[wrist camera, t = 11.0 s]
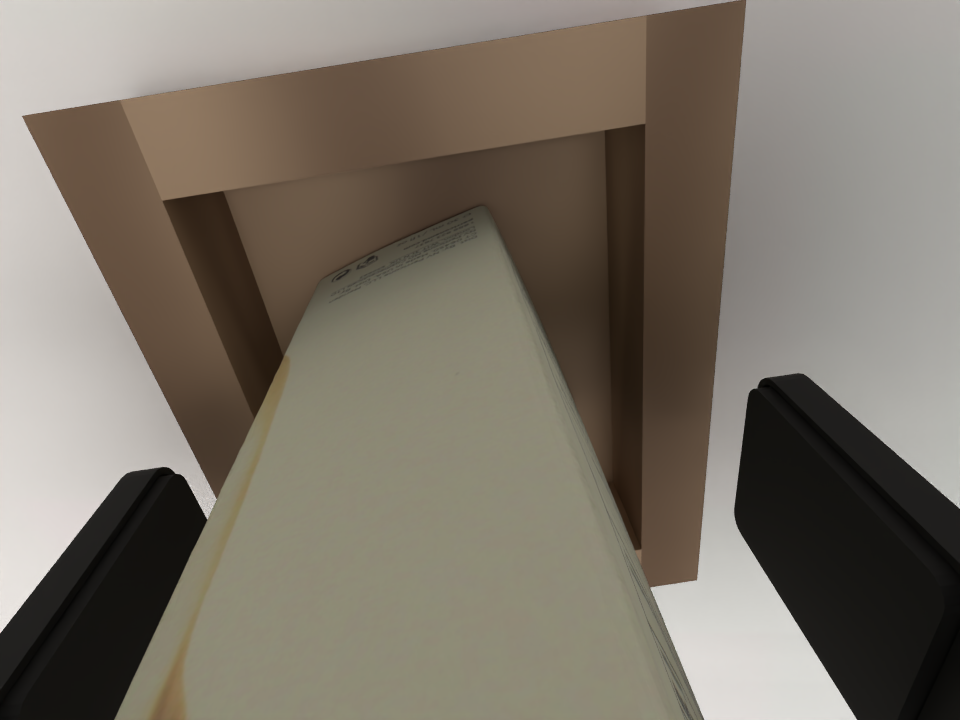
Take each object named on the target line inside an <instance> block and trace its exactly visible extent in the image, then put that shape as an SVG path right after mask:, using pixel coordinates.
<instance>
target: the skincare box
mask: <svg viewBox="0 0 960 720" xmlns="http://www.w3.org/2000/svg"><path fill="white" fill-rule="evenodd" d="M114 720H704V718H703V716H702V713H701V711H700V708H699V706H698V704H697V701H696V699H695V696H694V694H693V691H692V689H691V686H690V684H689V682H688V679H687V677H686V674H685V672H684V669H683V667H682V664H681V662H680V660H679V657H678V655H677V652H676V650H675V647H674V645H673V642H672V640H671V638H670V635H669V633H668V630H667V628H666V625H665V623H664V621H663V618H662V616H661V613H660V611H659V608H658V606H657V603H656V601H655V599H654V596H653V594H652V591H651V589H650V586H649V584H648V581H647V579H646V576H645V574H644V572H643V569H642V567H641V564H640V562H639V559H638V557H637V554H636V552H635V549H634V547H633V545H632V542H631V540H630V537H629V535H628V532H627V530H626V527H625V525H624V522H623V520H622V517H621V515H620V513H619V510H618V508H617V505H616V503H615V500H614V498H613V495H612V493H611V490H610V488H609V485H608V483H607V480H606V478H605V476H604V473H603V471H602V468H601V466H600V463H599V461H598V458H597V456H596V453H595V451H594V448H593V446H592V443H591V441H590V439H589V436H588V434H587V431H586V429H585V426H584V424H583V422H582V419H581V417H580V414H579V412H578V410H577V407H576V405H575V402H574V400H573V398H572V395H571V393H570V390H569V388H568V385H567V383H566V380H565V378H564V375H563V373H562V370H561V368H560V365H559V363H558V360H557V358H556V356H555V353H554V351H553V349H552V346H551V344H550V341H549V339H548V337H547V334H546V332H545V329H544V327H543V325H542V323H541V320H540V318H539V316H538V314H537V311H536V309H535V307H534V305H533V302H532V300H531V298H530V296H529V293H528V291H527V289H526V287H525V285H524V282H523V280H522V278H521V276H520V274H519V272H518V269H517V267H516V265H515V263H514V261H513V258H512V256H511V254H510V252H509V250H508V248H507V246H506V244H505V242H504V240H503V238H502V236H501V234H500V232H499V230H498V227H497V225H496V223H495V221H494V219H493V217H492V215H491V213H490V211H489V210H488V209H487V207H485V206H479V207H476V208H473V209H471V210H469V211H466V212H464V213H462V214H459V215H457V216H455V217H452V218H450V219H448V220H445V221H443V222H441V223H438V224H436V225H434V226H431V227H429V228H427V229H425V230H423V231H420V232H418V233H416V234H413V235H411V236H409V237H407V238H405V239H402V240H400V241H398V242H395V243H393V244H391V245H389V246H387V247H385V248H382V249H380V250H378V251H376V252H374V253H372V254H370V255H368V256H366V257H364V258H362V259H360V260H358V261H356V262H354V263H352V264H350V265H348V266H346V267H344V268H342V269H340V270H339V271H337V272H335V273H333V274H331V275H329V276H327V277H325V278H324V279H322V280H321V281H320V282H319V283H318V285H317V287H316V290H315V292H314V294H313V296H312V298H311V300H310V302H309V304H308V306H307V308H306V310H305V313H304V315H303V317H302V319H301V321H300V323H299V325H298V327H297V329H296V331H295V334H294V336H293V338H292V340H291V342H290V344H289V346H288V349H287V351H286V353H285V355H284V358H283V360H282V362H281V365H280V367H279V369H278V371H277V373H276V374H275V377H274V379H273V382H272V384H271V386H270V388H269V390H268V392H267V394H266V397H265V399H264V401H263V403H262V405H261V407H260V409H259V411H258V413H257V415H256V418H255V420H254V422H253V424H252V426H251V428H250V430H249V432H248V435H247V437H246V439H245V441H244V444H243V445H242V447H241V449H240V451H239V453H238V455H237V458H236V460H235V462H234V464H233V466H232V468H231V470H230V472H229V474H228V476H227V478H226V481H225V483H224V485H223V487H222V489H221V491H220V494H219V496H218V498H217V500H216V503H215V505H214V507H213V509H212V511H211V513H210V516H209V518H208V520H207V522H206V524H205V526H204V528H203V531H202V533H201V535H200V537H199V539H198V541H197V543H196V545H195V547H194V549H193V551H192V553H191V555H190V557H189V560H188V562H187V564H186V566H185V568H184V571H183V573H182V575H181V577H180V579H179V581H178V584H177V586H176V588H175V590H174V592H173V594H172V597H171V599H170V601H169V603H168V605H167V607H166V610H165V612H164V614H163V616H162V618H161V620H160V622H159V625H158V627H157V629H156V631H155V633H154V635H153V637H152V640H151V642H150V644H149V646H148V648H147V650H146V652H145V655H144V657H143V659H142V661H141V663H140V665H139V667H138V670H137V672H136V674H135V676H134V678H133V680H132V682H131V685H130V687H129V689H128V691H127V693H126V695H125V698H124V700H123V702H122V704H121V706H120V709H119V711H118V713H117V715H116V717H115V719H114Z"/></svg>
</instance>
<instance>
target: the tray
mask: <svg viewBox="0 0 960 720" xmlns="http://www.w3.org/2000/svg"><path fill="white" fill-rule="evenodd" d="M745 8H746V0H739V1H733V2H727V3H721V4H714V5H708V6H702V7H696V8H690V9H683V10H677V11H671V12H665V13H659V14H652V15H646V16H640V17H634V18H627V19H621V20H615V21H609V22H603V23H596V24H590V25H584V26H578V27H572V28H565V29H559V30H553V31H547V32H540V33H534V34H528V35H522V36H516V37H509V38H503V39H497V40H491V41H485V42H478V43H472V44H466V45H460V46H454V47H447V48H441V49H435V50H429V51H422V52H416V53H410V54H404V55H398V56H391V57H385V58H379V59H373V60H367V61H360V62H354V63H348V64H342V65H335V66H329V67H323V68H317V69H311V70H304V71H298V72H292V73H286V74H280V75H273V76H267V77H261V78H255V79H249V80H242V81H236V82H230V83H224V84H217V85H211V86H205V87H199V88H193V89H186V90H180V91H174V92H168V93H162V94H155V95H149V96H143V97H137V98H130V99H124V100H118V101H112V102H106V103H99V104H93V105H87V106H81V107H75V108H68V109H62V110H56V111H50V112H43V113H37V114H31V115H25V116H22V117H23V119H24V121H25V123H26V125H27V127H28V129H29V131H30V133H31V135H32V137H33V139H34V141H35V143H36V145H37V147H38V149H39V150H40V152H41V154H42V156H43V158H44V160H45V162H46V164H47V166H48V168H49V170H50V172H51V174H52V176H53V178H54V180H55V182H56V184H57V186H58V188H59V190H60V192H61V194H62V196H63V198H64V200H65V202H66V204H67V206H68V207H69V209H70V211H71V213H72V215H73V217H74V219H75V221H76V223H77V225H78V227H79V229H80V231H81V233H82V235H83V237H84V239H85V241H86V243H87V245H88V247H89V249H90V251H91V253H92V255H93V257H94V259H95V261H96V263H97V265H98V266H99V268H100V270H101V272H102V274H103V276H104V278H105V280H106V282H107V284H108V286H109V288H110V290H111V292H112V294H113V296H114V298H115V300H116V302H117V304H118V306H119V308H120V310H121V312H122V314H123V316H124V318H125V320H126V322H127V323H128V325H129V327H130V329H131V331H132V333H133V335H134V337H135V339H136V341H137V343H138V345H139V347H140V349H141V351H142V353H143V355H144V357H145V359H146V361H147V363H148V365H149V367H150V369H151V371H152V373H153V375H154V377H155V379H156V381H157V382H158V384H159V386H160V388H161V390H162V392H163V394H164V396H165V398H166V400H167V402H168V404H169V406H170V408H171V410H172V412H173V414H174V416H175V418H176V420H177V422H178V424H179V426H180V428H181V430H182V432H183V434H184V436H185V438H186V439H187V441H188V443H189V445H190V447H191V449H192V451H193V453H194V455H195V457H196V459H197V461H198V463H199V465H200V467H201V469H202V471H203V473H204V475H205V477H206V479H207V481H208V483H209V485H210V487H211V489H212V491H213V493H214V495H215V497H216V498H218V496H219V494H220V491H221V489H222V487H223V485H224V483H225V481H226V478H227V476H228V474H229V472H230V470H231V468H232V466H233V464H234V462H235V460H236V458H237V455H238V453H239V451H240V449H241V447H242V445H243V444H244V441H245V439H246V437H247V435H248V432H249V430H250V428H251V426H252V424H253V422H254V420H255V418H256V415H257V413H258V411H259V409H260V407H261V405H262V403H263V401H264V399H265V397H266V394H267V392H268V390H269V388H270V386H271V384H272V382H273V379H274V377H275V374H276V373H277V371H278V369H279V367H280V365H281V362H282V360H283V358H284V355H285V353H286V351H287V349H288V346H289V344H290V342H291V340H292V338H293V336H294V334H295V331H296V329H297V327H298V325H299V323H300V321H301V319H302V317H303V315H304V313H305V310H306V308H307V306H308V304H309V302H310V300H311V298H312V296H313V294H314V292H315V290H316V287H317V285H318V283H319V282H320V281H321V280H322V279H324V278H325V277H327V276H329V275H331V274H333V273H335V272H337V271H339V270H340V269H342V268H344V267H346V266H348V265H350V264H352V263H354V262H356V261H358V260H360V259H362V258H364V257H366V256H368V255H370V254H372V253H374V252H376V251H378V250H380V249H382V248H385V247H387V246H389V245H391V244H393V243H395V242H398V241H400V240H402V239H405V238H407V237H409V236H411V235H413V234H416V233H418V232H420V231H423V230H425V229H427V228H429V227H431V226H434V225H436V224H438V223H441V222H443V221H445V220H448V219H450V218H452V217H455V216H457V215H459V214H462V213H464V212H466V211H469V210H471V209H473V208H476V207H479V206H485V207H487V209H488V210H489V211H490V213H491V215H492V217H493V219H494V221H495V223H496V225H497V227H498V230H499V232H500V234H501V236H502V238H503V240H504V242H505V244H506V246H507V248H508V250H509V252H510V254H511V256H512V258H513V261H514V263H515V265H516V267H517V269H518V272H519V274H520V276H521V278H522V280H523V282H524V285H525V287H526V289H527V291H528V293H529V296H530V298H531V300H532V302H533V305H534V307H535V309H536V311H537V314H538V316H539V318H540V320H541V323H542V325H543V327H544V329H545V332H546V334H547V337H548V339H549V341H550V344H551V346H552V349H553V351H554V353H555V356H556V358H557V360H558V363H559V365H560V368H561V370H562V373H563V375H564V378H565V380H566V383H567V385H568V388H569V390H570V393H571V395H572V398H573V400H574V402H575V405H576V407H577V410H578V412H579V414H580V417H581V419H582V422H583V424H584V426H585V429H586V431H587V434H588V436H589V439H590V441H591V443H592V446H593V448H594V451H595V453H596V456H597V458H598V461H599V463H600V466H601V468H602V471H603V473H604V476H605V478H606V480H607V483H608V485H609V488H610V490H611V493H612V495H613V498H614V500H615V503H616V505H617V508H618V510H619V513H620V515H621V517H622V520H623V522H624V525H625V527H626V530H627V532H628V535H629V537H630V540H631V542H632V545H633V547H634V549H635V552H636V554H637V557H638V559H639V562H640V564H641V567H642V569H643V572H644V574H645V576H646V579H647V581H648V584H649V586H650V587H655V586H661V585H668V584H675V583H681V582H688V581H694V580H697V574H698V562H699V551H700V539H701V527H702V515H703V503H704V492H705V480H706V468H707V456H708V444H709V433H710V421H711V409H712V397H713V385H714V374H715V362H716V350H717V338H718V326H719V315H720V303H721V291H722V279H723V268H724V256H725V244H726V232H727V220H728V209H729V197H730V185H731V173H732V161H733V150H734V138H735V126H736V114H737V102H738V91H739V79H740V67H741V55H742V43H743V32H744V20H745Z"/></svg>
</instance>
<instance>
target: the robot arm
mask: <svg viewBox="0 0 960 720" xmlns="http://www.w3.org/2000/svg"><path fill="white" fill-rule="evenodd" d="M734 515H735V520H736V524H737V527H738V529H739V531H740V533H741V535H742V536H743V538H744V540H745V541H746V543H747V544H748V546H749V548H750V549H751V551H752V552H753V554H754V556H755V557H756V559H757V560H758V562H759V564H760V565H761V567H762V568H763V570H764V572H765V573H766V575H767V576H768V578H769V579H770V581H771V583H772V584H773V586H774V587H775V589H776V591H777V592H778V594H779V595H780V597H781V599H782V600H783V602H784V603H785V605H786V607H787V608H788V610H789V611H790V613H791V615H792V616H793V618H794V619H795V621H796V623H797V624H798V626H799V627H800V629H801V631H802V632H803V634H804V635H805V637H806V639H807V640H808V642H809V643H810V645H811V647H812V648H813V650H814V651H815V653H816V655H817V656H818V658H819V659H820V661H821V663H822V664H823V666H824V667H825V669H826V671H827V672H828V674H829V675H830V677H831V679H832V680H833V682H834V683H835V685H836V687H837V688H838V690H839V691H840V693H841V695H842V696H843V698H844V699H845V701H846V703H847V704H848V706H849V707H850V709H851V711H852V712H853V714H854V715H855V717H856V719H857V720H960V509H959V508H958V507H957V506H956V505H955V504H953V503H952V502H951V501H950V500H949V499H948V498H947V497H945V496H944V495H943V494H942V493H941V492H940V491H938V490H937V489H936V488H935V487H934V486H933V485H932V484H930V483H929V482H928V481H927V480H926V479H925V478H924V477H922V476H921V475H920V474H919V473H918V472H917V471H915V470H914V469H913V468H912V467H911V466H910V465H909V464H907V463H906V462H905V461H904V460H903V459H902V458H901V457H899V456H898V455H897V454H896V453H895V452H894V451H892V450H891V449H890V448H889V447H888V446H887V445H886V444H884V443H883V442H882V441H881V440H880V439H879V438H878V437H876V436H875V435H874V434H873V433H872V432H871V431H869V430H868V429H867V428H866V427H865V426H864V425H863V424H861V423H860V422H859V421H858V420H857V419H856V418H855V417H853V416H852V415H851V414H850V413H849V412H848V411H846V410H845V409H844V408H843V407H842V406H841V405H840V404H838V403H837V402H836V401H835V400H834V399H833V398H831V397H830V396H829V395H828V394H827V393H826V392H825V391H823V390H822V389H821V388H820V387H819V386H818V385H817V384H815V383H814V382H813V381H812V380H811V379H810V378H808V377H807V376H805V375H804V374H799V373H797V374H790V375H784V376H777V377H770V378H764V379H763V380H761V381H760V383H759V385H758V388H757V389H753V390H751V391H750V393H749V396H748V402H747V410H746V418H745V426H744V434H743V443H742V451H741V459H740V467H739V475H738V483H737V491H736V499H735V507H734ZM206 522H207V518H206V517H205V515H204V513H203V511H202V509H201V507H200V505H199V504H198V502H197V500H196V498H195V496H194V494H193V492H192V490H191V489H190V487H189V485H188V483H187V481H186V480H185V478H184V477H183V476H182V475H180V474H175V473H174V472H173V470H171V469H170V468H167V467H160V468H154V469H147V470H140V471H133V472H130V473H127V474H125V475H124V476H123V477H122V478H121V479H120V481H119V482H118V483H117V485H116V486H115V487H114V488H113V490H112V491H111V492H110V494H109V495H108V496H107V497H106V499H105V500H104V501H103V503H102V504H101V505H100V506H99V508H98V509H97V510H96V511H95V513H94V514H93V515H92V517H91V518H90V519H89V520H88V522H87V523H86V524H85V526H84V527H83V528H82V529H81V531H80V532H79V533H78V535H77V536H76V537H75V538H74V540H73V541H72V542H71V544H70V545H69V546H68V547H67V549H66V550H65V551H64V552H63V554H62V555H61V556H60V558H59V559H58V560H57V561H56V563H55V564H54V565H53V567H52V568H51V569H50V570H49V572H48V573H47V574H46V576H45V577H44V578H43V579H42V581H41V582H40V583H39V585H38V586H37V587H36V588H35V590H34V591H33V592H32V594H31V595H30V596H29V597H28V599H27V600H26V601H25V602H24V604H23V605H22V606H21V608H20V609H19V610H18V611H17V613H16V614H15V615H14V617H13V618H12V619H11V620H10V622H9V623H8V624H7V626H6V627H5V628H4V629H3V631H2V632H1V633H0V720H114V719H115V717H116V715H117V713H118V711H119V709H120V706H121V704H122V702H123V700H124V698H125V695H126V693H127V691H128V689H129V687H130V685H131V682H132V680H133V678H134V676H135V674H136V672H137V670H138V667H139V665H140V663H141V661H142V659H143V657H144V655H145V652H146V650H147V648H148V646H149V644H150V642H151V640H152V637H153V635H154V633H155V631H156V629H157V627H158V625H159V622H160V620H161V618H162V616H163V614H164V612H165V610H166V607H167V605H168V603H169V601H170V599H171V597H172V594H173V592H174V590H175V588H176V586H177V584H178V581H179V579H180V577H181V575H182V573H183V571H184V568H185V566H186V564H187V562H188V560H189V557H190V555H191V553H192V551H193V549H194V547H195V545H196V543H197V541H198V539H199V537H200V535H201V533H202V531H203V528H204V526H205V524H206Z"/></svg>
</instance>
